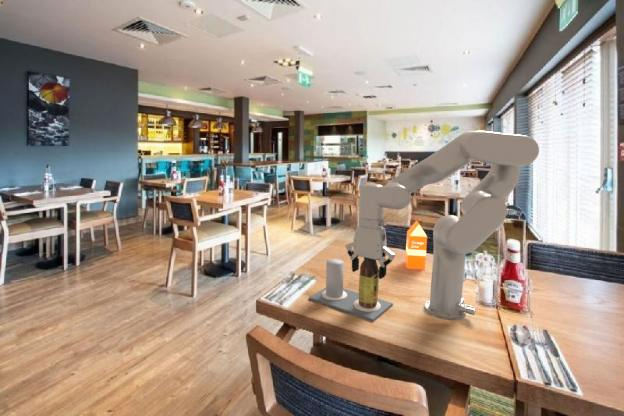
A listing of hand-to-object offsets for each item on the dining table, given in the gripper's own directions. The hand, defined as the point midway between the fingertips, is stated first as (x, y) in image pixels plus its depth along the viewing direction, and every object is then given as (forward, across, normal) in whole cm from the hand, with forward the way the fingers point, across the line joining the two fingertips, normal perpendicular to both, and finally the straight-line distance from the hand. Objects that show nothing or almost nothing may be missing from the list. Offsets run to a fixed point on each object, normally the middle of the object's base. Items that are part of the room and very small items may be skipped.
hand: (368, 274), depth 114 cm
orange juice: (+12, +3, -50) cm, 52 cm away
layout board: (+12, +6, 0) cm, 13 cm away
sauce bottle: (+11, 0, 0) cm, 11 cm away
